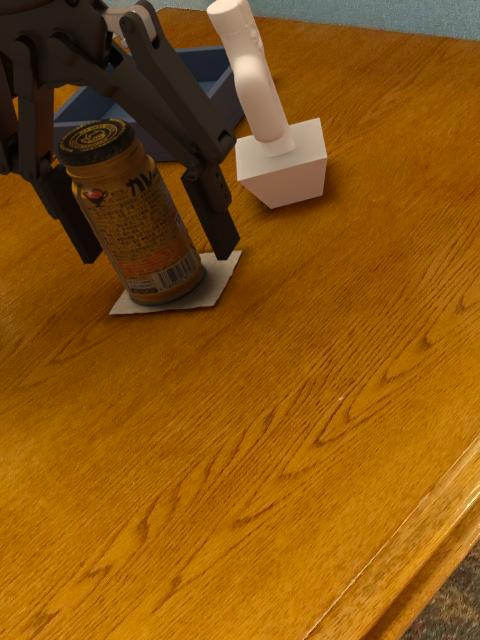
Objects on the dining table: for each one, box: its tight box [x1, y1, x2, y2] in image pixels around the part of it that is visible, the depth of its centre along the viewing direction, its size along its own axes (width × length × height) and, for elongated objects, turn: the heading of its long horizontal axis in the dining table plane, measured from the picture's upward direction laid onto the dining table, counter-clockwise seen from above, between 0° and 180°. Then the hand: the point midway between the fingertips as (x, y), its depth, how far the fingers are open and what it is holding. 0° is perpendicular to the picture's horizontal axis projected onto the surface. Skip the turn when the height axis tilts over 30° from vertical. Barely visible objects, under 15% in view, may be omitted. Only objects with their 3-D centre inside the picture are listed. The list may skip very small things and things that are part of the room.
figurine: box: [206, 0, 328, 210], centre depth 78 cm, size 7×9×15 cm
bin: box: [53, 44, 245, 164], centre depth 94 cm, size 16×15×4 cm
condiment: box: [58, 118, 243, 315], centre depth 72 cm, size 7×8×12 cm
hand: (161, 251), depth 74 cm, fingers open, 10 cm apart
